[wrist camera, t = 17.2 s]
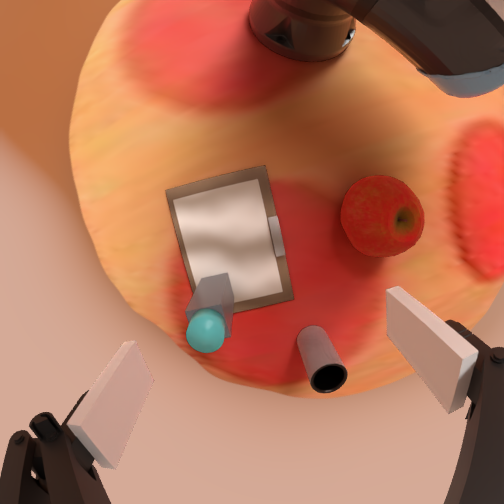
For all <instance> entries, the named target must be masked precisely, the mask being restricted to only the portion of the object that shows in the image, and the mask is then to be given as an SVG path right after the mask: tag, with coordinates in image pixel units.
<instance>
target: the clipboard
mask: <svg viewBox="0 0 504 504" xmlns="http://www.w3.org/2000/svg"><path fill="white" fill-rule="evenodd" d="M166 195H167V199H168V203H169V207H170V211H171V215H172V219H173V223H174V227H175V231H176V235H177V238H178V242H179V246H180V250H181V253H182V257H183V260H184V264H185V267H186V271H187V274H188V278H189V281H190V285H191V288H192V291H193V294H194V292H195V290H196V288H197V286H198V284H199V282H200V280H201V278H205V277H209V276H214V275H218V274H222V273H227V272H228V275H229V279H230V283H231V287H232V291H233V294H234V307H233V313H236V312H241V311H245V310H250V309H254V308H259V307H263V306H268V305H272V304H277V303H281V302H285V301H289V300H293V299H294V296H293V291H292V286H291V281H290V276H289V271H288V266H287V261H286V256H285V255H286V254H285V249H284V244H283V239H282V235H281V230H280V225H279V221H278V216H277V214H276V210H275V205H274V201H273V196H272V192H271V188H270V183H269V179H268V175H267V170H266V166H265V165H264V166H259V167H254V168H250V169H245V170H241V171H237V172H233V173H228V174H224V175H220V176H216V177H212V178H208V179H204V180H201V181H197V182H193V183H189V184H186V185H182V186H179V187H175V188H172V189H168V190H166Z"/></svg>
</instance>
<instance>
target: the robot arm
mask: <svg viewBox="0 0 504 504" xmlns="http://www.w3.org/2000/svg"><path fill="white" fill-rule="evenodd" d="M356 19H357V20H358V21H360V22H361V23H362V24H364V25H365V26H367V27H368V28H369V29H371V30H372V31H373V32H375V33H376V34H377V35H379V36H380V37H381V38H382V39H384V40H385V41H386V42H387V43H389V44H390V45H391V46H392V47H394V48H395V49H396V50H397V51H398V52H399V53H401V54H402V55H403V56H404V57H405V58H406V59H407V60H408V61H410V62H411V63H412V64H413V65H414V66H415V67H416V69H417V70H418V72H420V73H421V74H422V75H424V76H426V77H428V78H429V79H430V80H431V81H432V82H433V83H434V84H435V85H436V86H437V87H438V88H439V89H440V90H442V91H443V92H444V93H446V94H448V95H451V96H456V97H459V98H470V97H476V96H480V95H483V94H486V93H489V92H491V91H493V90H495V89H497V88H499V87H501V86H502V85H504V0H252V2H251V5H250V12H249V21H250V26H251V29H252V31H253V33H254V34H255V36H256V37H257V38H258V40H259V41H260V42H261V43H262V44H264V45H265V46H266V47H267V48H269V49H270V50H272V51H274V52H276V53H278V54H280V55H282V56H285V57H287V58H291V59H295V60H300V61H309V62H314V61H323V60H328V59H331V58H333V57H336V56H337V55H339V54H340V53H342V52H343V51H344V50H345V49H346V48H347V46H348V45H349V44H350V42H351V41H352V39H353V37H354V34H355V29H356ZM386 311H387V336H388V337H389V338H390V340H391V341H392V342H393V343H394V345H395V346H396V347H397V348H398V350H399V351H400V352H401V353H402V355H403V356H404V357H405V358H406V360H407V361H408V362H409V363H410V365H411V366H412V367H413V368H414V370H415V371H416V372H417V373H418V375H419V376H420V377H421V379H422V380H423V381H424V382H425V384H426V385H427V386H428V388H429V389H430V390H431V392H432V393H433V394H434V396H435V397H436V398H437V400H438V401H439V402H440V404H441V405H442V406H443V408H444V409H445V410H446V412H447V413H448V414H450V413H452V412H454V411H456V410H457V409H459V408H461V407H463V405H464V403H465V400H466V397H467V396H468V397H469V398H470V400H471V401H472V402H471V405H470V407H469V410H468V413H467V416H466V418H465V419H468V420H467V425H466V430H465V435H464V439H463V444H462V448H461V452H460V455H459V459H458V463H457V466H456V470H455V473H454V476H453V479H452V482H451V485H450V488H449V491H448V494H447V497H446V499H445V502H444V504H504V348H503V347H495V348H492V349H491V348H490V347H489V346H488V345H486V344H485V343H484V342H483V341H481V340H480V339H479V338H478V337H476V336H475V335H474V334H472V332H470V331H469V330H467V329H466V328H465V327H464V326H463V325H461V324H460V323H458V322H455V321H453V320H448V321H445V322H444V321H443V320H441V319H440V318H439V317H438V316H436V315H435V314H434V313H433V312H431V311H430V310H429V309H428V308H426V307H425V306H424V305H423V304H421V303H420V302H419V301H418V300H416V299H415V298H414V297H412V296H411V295H410V294H409V293H407V292H406V291H405V290H403V289H402V288H401V287H399V286H396V287H392V288H389V289H386ZM153 382H154V379H153V377H152V375H151V373H150V371H149V369H148V367H147V365H146V362H145V360H144V358H143V356H142V354H141V352H140V349H139V347H138V345H137V342H136V340H135V341H126V342H123V344H122V345H121V346H120V348H119V349H118V351H117V352H116V353H115V355H114V356H113V358H112V359H111V360H110V362H109V363H108V364H107V366H106V367H105V369H104V370H103V371H102V373H101V374H100V376H99V377H98V378H97V380H96V381H95V383H94V384H93V386H92V387H91V388H90V390H88V391H87V392H85V393H84V394H83V395H82V396H81V397H80V399H79V400H78V401H77V404H76V405H75V406H74V407H73V410H71V412H70V413H69V415H68V416H67V418H66V419H65V421H64V422H63V423H62V425H61V426H60V425H59V423H58V422H57V421H56V419H55V418H54V416H53V415H52V414H51V413H49V412H43V413H40V414H38V415H36V416H35V417H34V418H33V419H32V420H31V422H30V424H29V427H30V428H31V429H32V431H33V432H34V433H35V435H36V436H37V437H38V438H32V437H31V435H30V434H29V433H28V432H27V431H25V430H21V431H17V432H16V433H14V434H13V435H12V437H11V438H10V440H9V444H8V448H7V451H6V455H5V459H4V463H3V468H2V472H1V477H0V504H111V502H110V500H109V498H108V496H107V494H106V491H105V489H104V488H103V485H102V482H101V480H100V478H99V475H98V473H97V470H96V469H95V467H94V466H93V465H92V463H93V461H94V459H95V460H96V461H97V462H98V463H99V464H100V466H101V467H104V468H110V469H116V468H117V466H118V463H119V461H120V458H121V456H122V453H123V451H124V449H125V446H126V444H127V442H128V439H129V437H130V434H131V432H132V430H133V427H134V425H135V423H136V420H137V418H138V416H139V413H140V411H141V409H142V407H143V404H144V402H145V400H146V398H147V395H148V393H149V391H150V389H151V386H152V384H153ZM31 470H32V471H33V472H34V473H35V474H36V479H35V478H33V477H32V476H31Z"/></svg>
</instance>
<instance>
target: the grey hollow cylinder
mask: <svg viewBox="0 0 504 504" xmlns="http://www.w3.org/2000/svg"><path fill="white" fill-rule="evenodd" d="M297 345H298V348H299V351H300V354H301V357H302V360H303V363H304V366H305V369H306V372H307V375H308V378H309V381H310V384H311V387H312V388H313V389H314V390H315V391H317V392H319V393H330V392H333V391H336V390H337V389H339V388H340V387H341V386H342V385H343V384H344V383H345V381H346V379H347V370H346V368H345V366H344V364H343V362H342V360H341V359H340V357H339V355H338V353H337V351H336V349H335V348H334V346H333V344H332V342H331V340H330V339H329V337H328V335H327V333H326V332H325V330H324V329H323V328H322V327H320V326H316V325H312V326H308V327H306V328H304V329H303V330H301V332H300V333H299V334H298V337H297Z"/></svg>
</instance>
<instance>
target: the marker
mask: <svg viewBox="0 0 504 504" xmlns="http://www.w3.org/2000/svg"><path fill="white" fill-rule="evenodd" d="M233 307H234V294H233V291H232V287H231V283H230V279H229V275H228V272H227V273H222V274H218V275H214V276H209V277H205V278H201V280H200V282H199V284H198V286H197V288H196V290H195V292H194V294H193V296H192V298H191V300H190V302H189V304H188V306H187V308H186V310H185V313H186V316H187V319H188V322H189V326H188V328H187V331H186V338H187V341H188V343H189V344H190V346H191V347H192V348H194V349H195V350H197V351H199V352H203V353H210V352H214V351H216V350H218V349H219V348H220V347H221V346H222V344H223V341H224V338H229V337H231V330H232V318H233Z"/></svg>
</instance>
